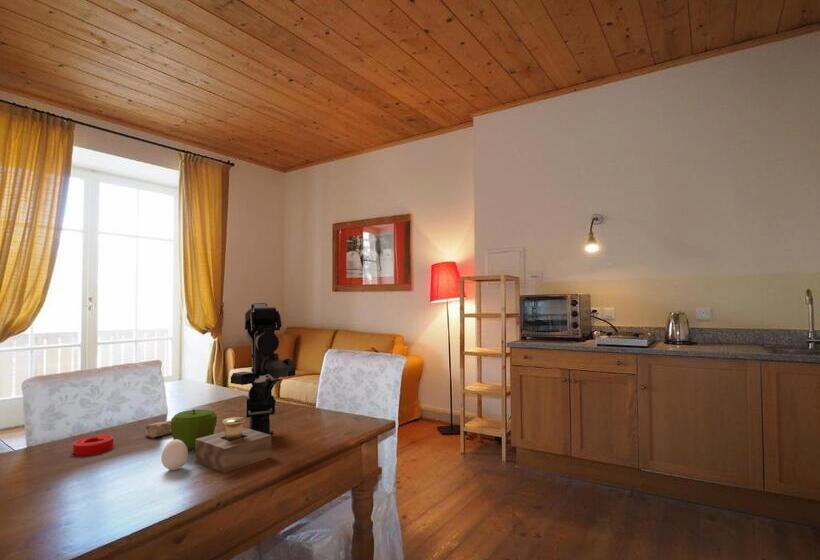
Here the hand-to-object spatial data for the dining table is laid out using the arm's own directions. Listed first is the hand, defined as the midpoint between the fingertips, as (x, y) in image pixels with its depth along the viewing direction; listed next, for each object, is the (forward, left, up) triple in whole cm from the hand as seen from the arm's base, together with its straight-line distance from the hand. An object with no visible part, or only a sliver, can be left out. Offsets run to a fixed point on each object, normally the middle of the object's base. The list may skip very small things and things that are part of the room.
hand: (264, 404), depth 130 cm
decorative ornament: (-43, -28, -14) cm, 53 cm away
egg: (-7, -22, -13) cm, 27 cm away
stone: (-41, -8, -14) cm, 44 cm away
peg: (-1, -9, -9) cm, 13 cm away
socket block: (-1, -9, -13) cm, 16 cm away
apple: (-20, -10, -13) cm, 26 cm away
